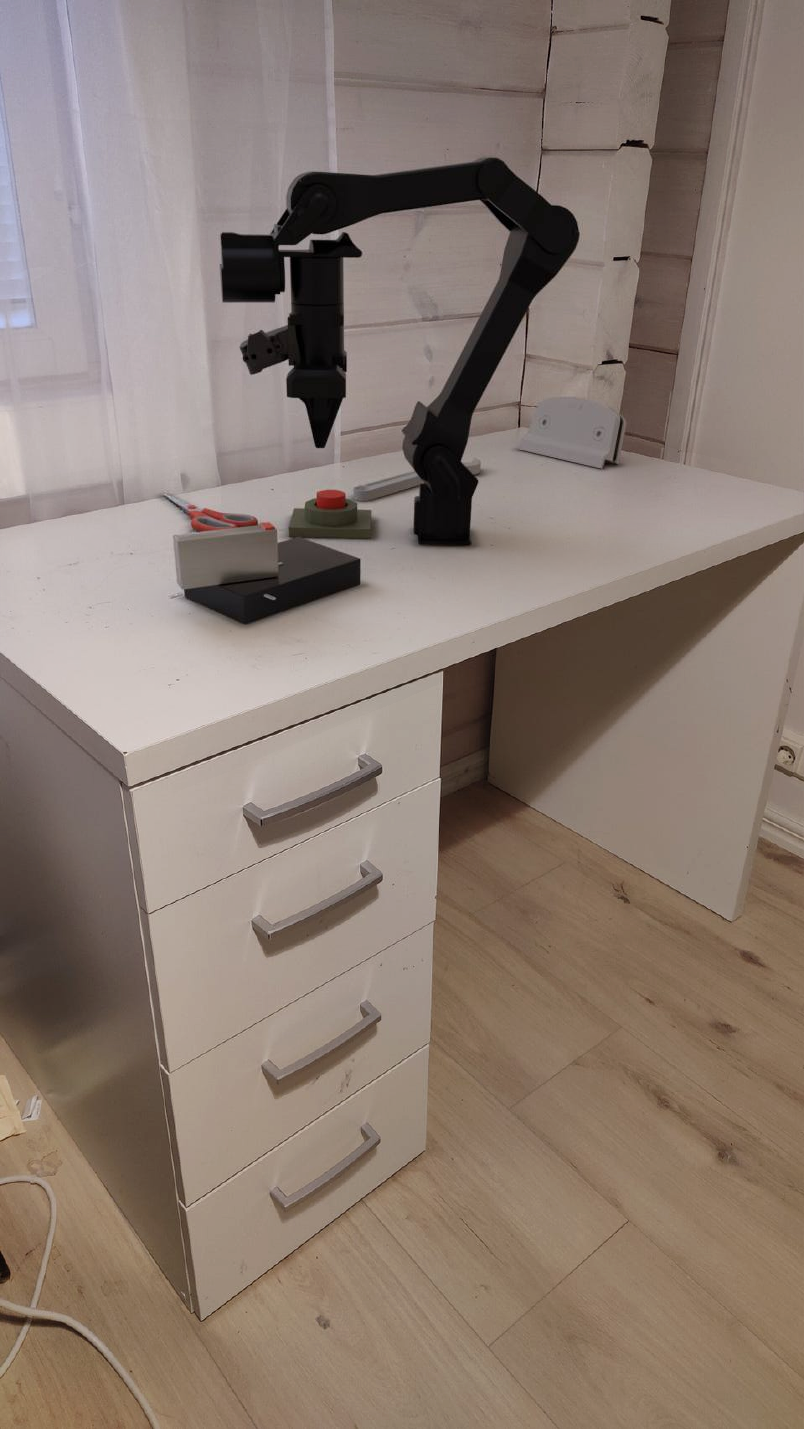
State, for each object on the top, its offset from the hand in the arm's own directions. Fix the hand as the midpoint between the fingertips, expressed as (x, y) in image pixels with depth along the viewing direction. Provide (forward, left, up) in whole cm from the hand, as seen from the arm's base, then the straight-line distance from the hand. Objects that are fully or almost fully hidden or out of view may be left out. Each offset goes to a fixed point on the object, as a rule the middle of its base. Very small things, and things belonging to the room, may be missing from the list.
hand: (320, 447), depth 117 cm
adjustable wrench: (-12, -28, -12) cm, 32 cm away
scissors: (+17, -9, -12) cm, 22 cm away
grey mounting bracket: (-38, -46, -12) cm, 60 cm away
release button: (-1, -6, -9) cm, 10 cm away
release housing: (-1, -6, -11) cm, 13 cm away
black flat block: (+6, +19, -11) cm, 23 cm away
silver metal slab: (+8, +21, -8) cm, 24 cm away
